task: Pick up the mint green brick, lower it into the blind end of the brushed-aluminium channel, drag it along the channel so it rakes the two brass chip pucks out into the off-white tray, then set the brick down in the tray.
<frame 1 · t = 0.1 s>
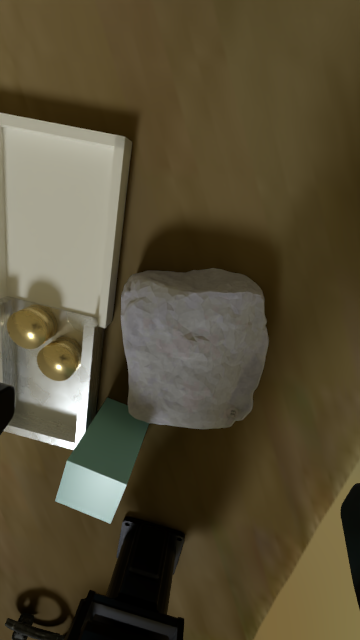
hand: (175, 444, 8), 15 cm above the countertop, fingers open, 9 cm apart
chip1: (67, 353, 24), resting on channel
stone block: (198, 341, 23), on the countertop
milk frother: (69, 633, 41), on the countertop
channel: (54, 370, 25), on the countertop
mint green brick: (123, 423, 26), on the countertop
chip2: (39, 322, 23), resting on channel
chip tray: (59, 228, 21), on the countertop
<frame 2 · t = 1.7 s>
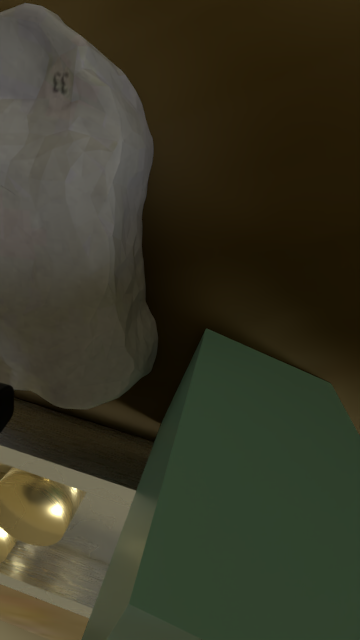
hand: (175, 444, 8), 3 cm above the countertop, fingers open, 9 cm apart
chip1: (54, 474, 12), resting on channel
stone block: (8, 216, 10), on the countertop, touching gripper
channel: (108, 502, 13), on the countertop
mint green brick: (238, 405, 10), on the countertop
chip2: (7, 496, 13), resting on channel
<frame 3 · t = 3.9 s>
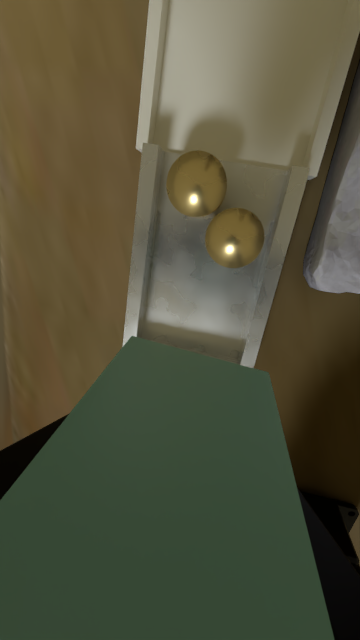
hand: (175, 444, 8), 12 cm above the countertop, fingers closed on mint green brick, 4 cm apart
chip1: (233, 236, 17), resting on channel
channel: (204, 270, 18), on the countertop
mint green brick: (183, 409, 9), point 10 cm above the countertop, touching gripper
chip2: (199, 188, 16), resting on channel
chip tray: (251, 21, 14), on the countertop
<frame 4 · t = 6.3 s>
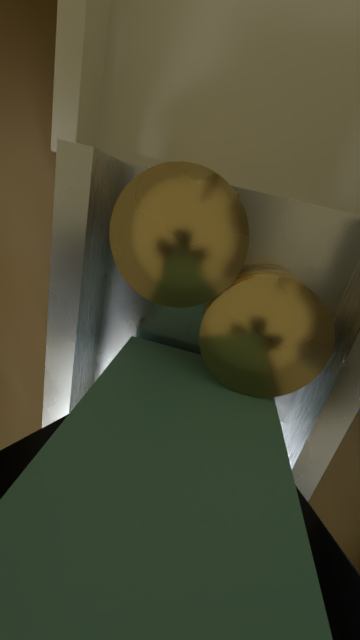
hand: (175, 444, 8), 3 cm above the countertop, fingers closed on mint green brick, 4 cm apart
chip1: (256, 316, 8), resting on channel, touching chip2, mint green brick
channel: (191, 378, 10), on the countertop
mint green brick: (183, 410, 9), point 1 cm above the countertop, touching chip1, gripper
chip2: (187, 235, 8), resting on channel, touching chip1
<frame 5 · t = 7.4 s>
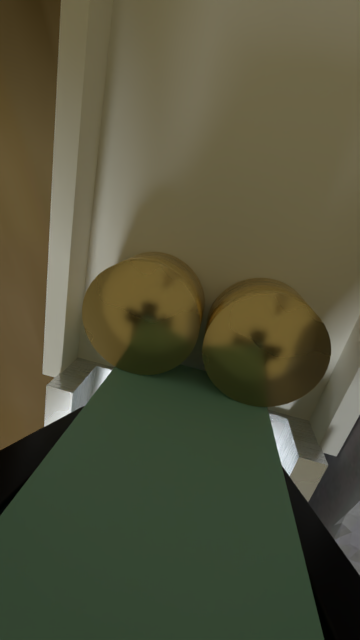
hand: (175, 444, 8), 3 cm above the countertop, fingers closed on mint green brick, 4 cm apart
chip1: (257, 327, 9), resting on chip tray, touching mint green brick
channel: (159, 501, 12), on the countertop
mint green brick: (178, 423, 10), point 1 cm above the countertop, touching chip1, gripper
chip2: (155, 301, 9), resting on chip tray
chip tray: (242, 199, 8), on the countertop
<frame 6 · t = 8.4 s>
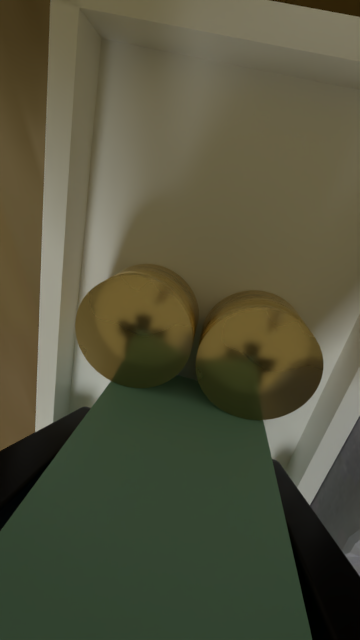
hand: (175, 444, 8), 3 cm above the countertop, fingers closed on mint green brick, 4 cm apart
chip1: (251, 338, 9), resting on chip tray, touching mint green brick
mint green brick: (176, 433, 10), point 1 cm above the countertop, touching chip1, gripper
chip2: (149, 313, 9), resting on chip tray
chip tray: (210, 302, 9), on the countertop
when the fingers open (2 cm above the countertop, at t = 9.3 s): mint green brick stays where it is, resting on channel, chip1, chip tray.
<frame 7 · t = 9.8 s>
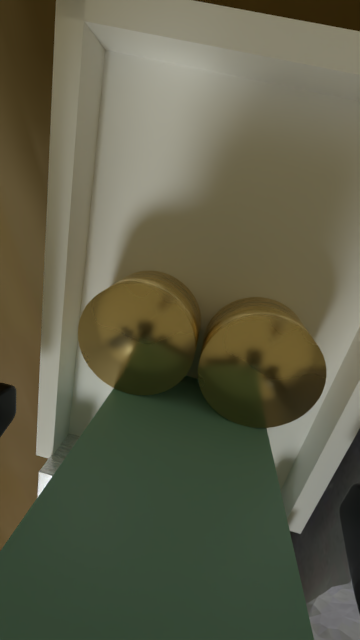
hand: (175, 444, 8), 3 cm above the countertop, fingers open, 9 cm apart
chip1: (253, 345, 9), resting on chip tray, touching mint green brick
channel: (145, 554, 13), on the countertop
mint green brick: (180, 430, 10), resting on channel, chip1, chip tray
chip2: (152, 319, 9), resting on chip tray
chip tray: (212, 310, 9), on the countertop
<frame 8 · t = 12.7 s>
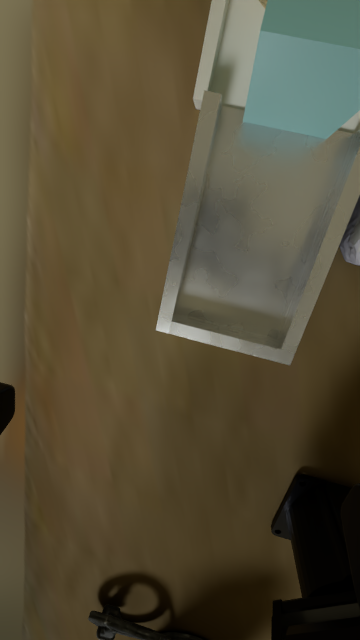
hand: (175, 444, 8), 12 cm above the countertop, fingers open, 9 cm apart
milk frother: (161, 631, 33), on the countertop
channel: (249, 241, 17), on the countertop
mint green brick: (298, 80, 14), resting on chip tray, touching channel, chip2
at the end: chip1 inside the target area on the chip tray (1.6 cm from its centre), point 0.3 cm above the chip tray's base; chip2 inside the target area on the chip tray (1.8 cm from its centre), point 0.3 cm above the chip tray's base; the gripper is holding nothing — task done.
